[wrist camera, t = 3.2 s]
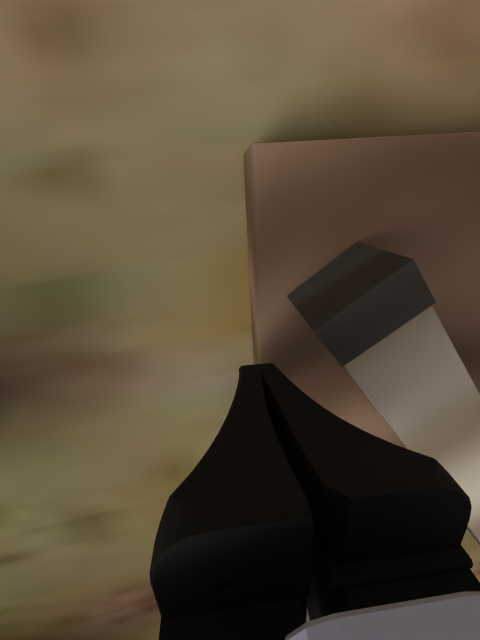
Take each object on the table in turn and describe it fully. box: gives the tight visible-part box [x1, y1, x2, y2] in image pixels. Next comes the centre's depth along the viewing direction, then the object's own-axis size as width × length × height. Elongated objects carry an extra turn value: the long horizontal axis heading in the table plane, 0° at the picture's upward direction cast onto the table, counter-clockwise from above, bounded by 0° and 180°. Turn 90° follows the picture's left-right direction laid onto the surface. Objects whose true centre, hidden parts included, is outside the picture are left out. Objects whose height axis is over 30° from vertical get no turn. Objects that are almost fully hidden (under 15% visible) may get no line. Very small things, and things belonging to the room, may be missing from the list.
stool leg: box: [287, 242, 480, 545], centre depth 13 cm, size 17×3×3 cm, turn 39°
